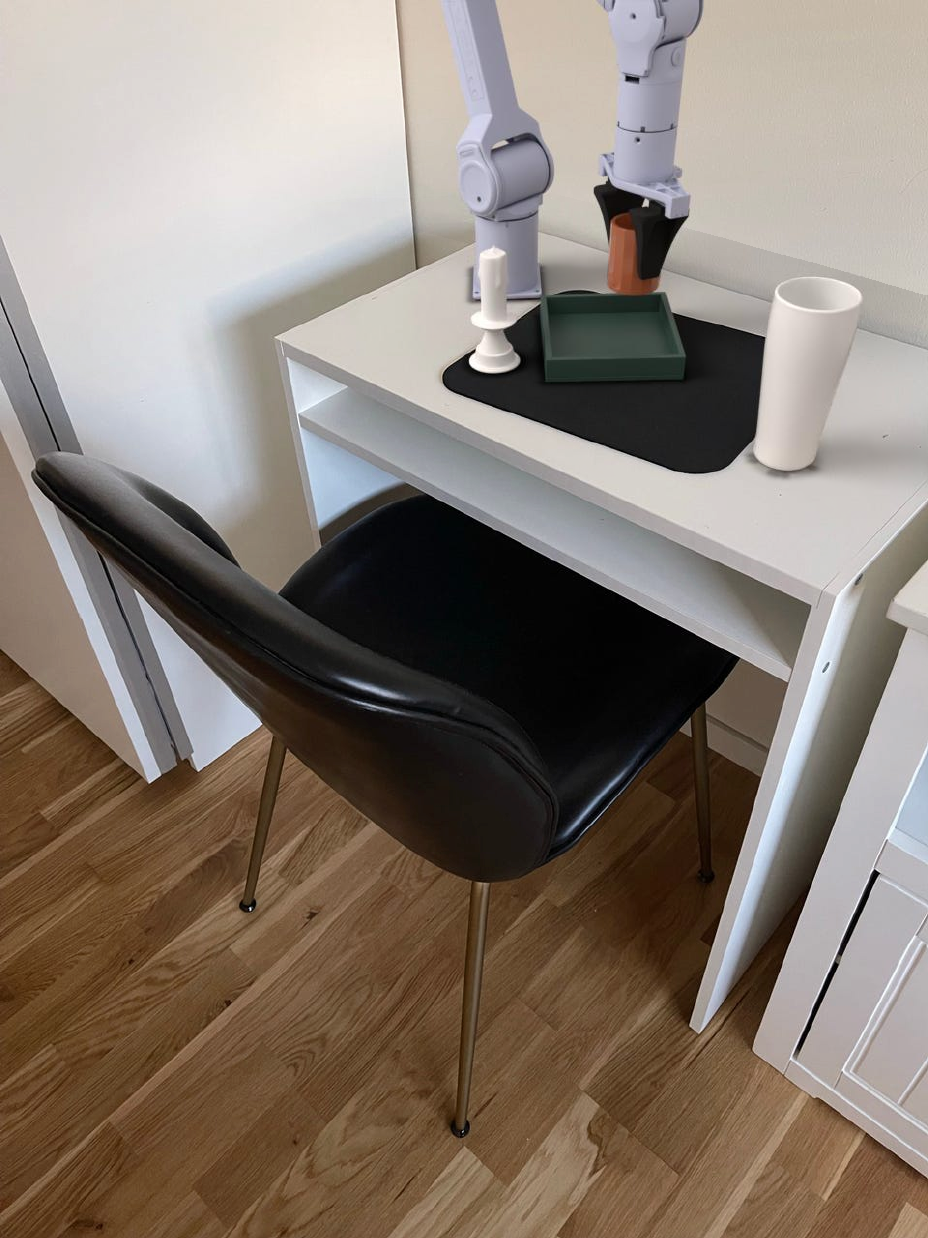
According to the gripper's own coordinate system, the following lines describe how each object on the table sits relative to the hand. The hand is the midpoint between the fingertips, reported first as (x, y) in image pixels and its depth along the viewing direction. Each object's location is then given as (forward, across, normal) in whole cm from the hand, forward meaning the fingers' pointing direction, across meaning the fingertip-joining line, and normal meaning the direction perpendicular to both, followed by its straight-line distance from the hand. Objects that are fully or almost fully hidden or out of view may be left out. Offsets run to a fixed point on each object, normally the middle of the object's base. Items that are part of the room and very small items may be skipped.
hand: (634, 266), depth 99 cm
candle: (+7, 0, +16) cm, 17 cm away
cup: (+2, 0, 0) cm, 2 cm away
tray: (+7, -2, +4) cm, 8 cm away
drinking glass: (+7, -27, 0) cm, 28 cm away
